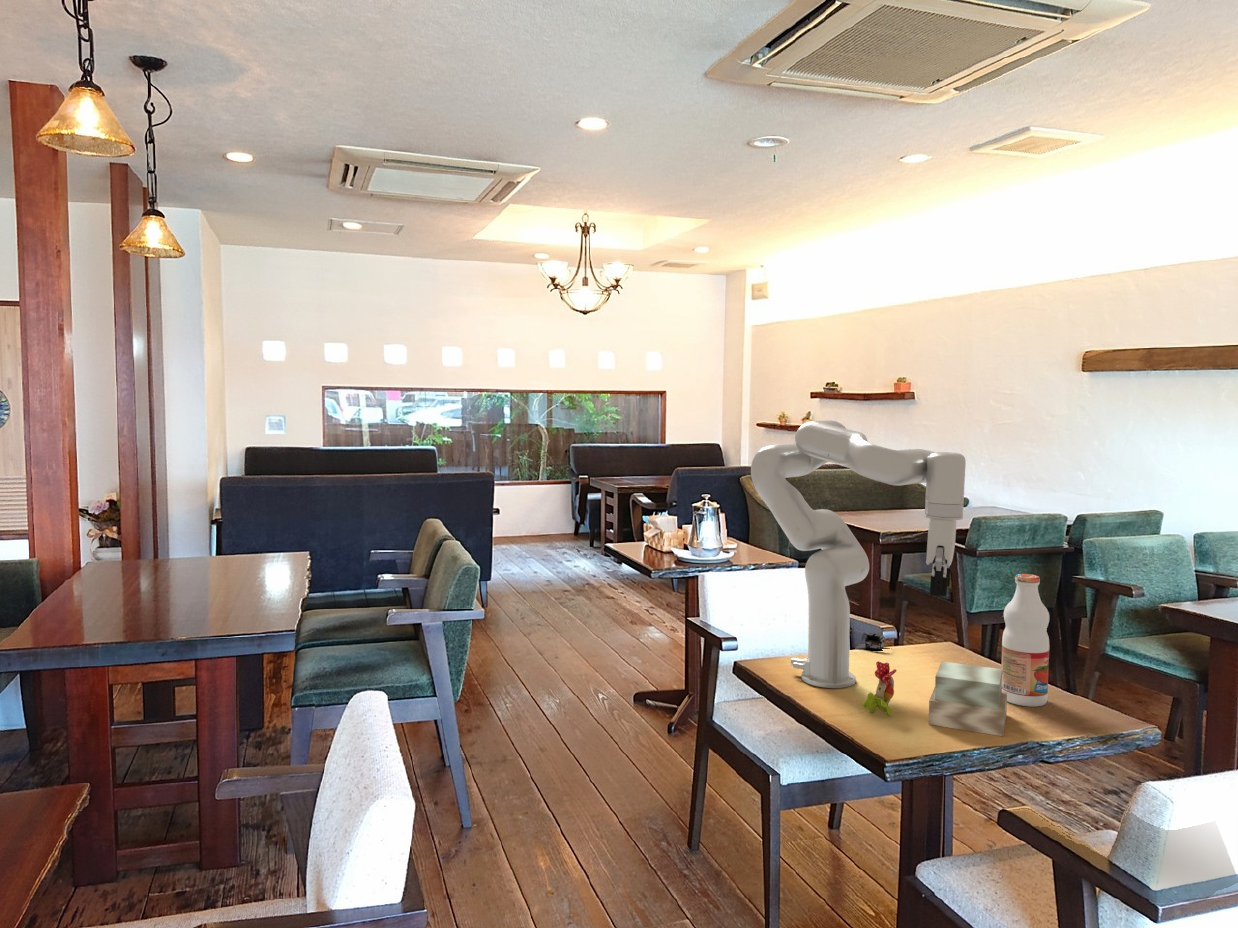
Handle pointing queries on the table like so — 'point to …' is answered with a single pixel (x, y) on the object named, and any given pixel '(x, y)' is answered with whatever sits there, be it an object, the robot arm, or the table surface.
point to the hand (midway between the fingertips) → (940, 590)
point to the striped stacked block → (968, 699)
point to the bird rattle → (881, 690)
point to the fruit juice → (1025, 645)
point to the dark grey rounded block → (872, 638)
